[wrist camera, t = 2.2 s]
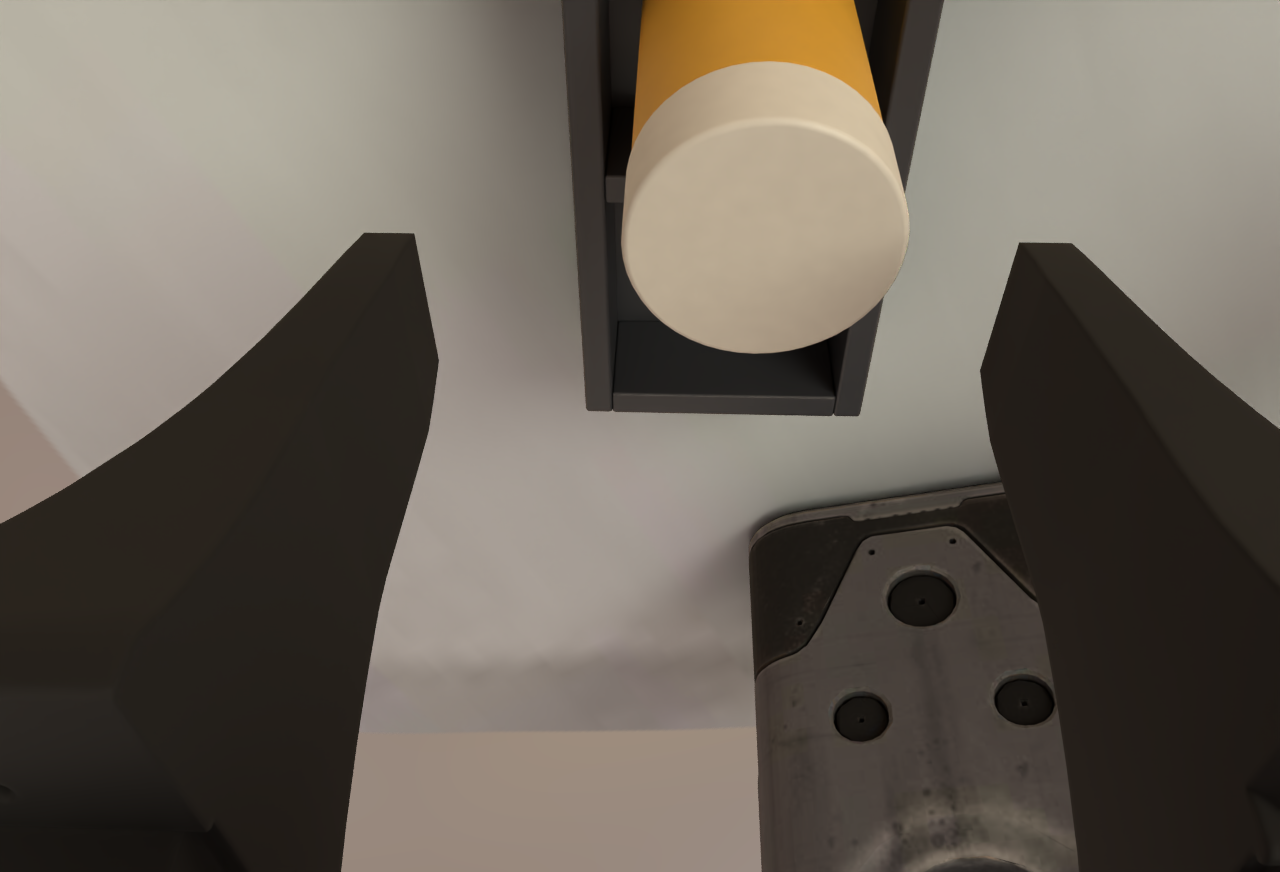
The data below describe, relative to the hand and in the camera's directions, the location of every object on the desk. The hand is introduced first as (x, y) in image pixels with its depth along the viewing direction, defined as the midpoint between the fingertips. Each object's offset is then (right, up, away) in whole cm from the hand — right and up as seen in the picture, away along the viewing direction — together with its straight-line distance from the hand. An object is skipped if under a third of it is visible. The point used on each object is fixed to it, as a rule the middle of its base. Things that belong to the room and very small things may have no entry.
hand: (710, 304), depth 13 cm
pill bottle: (+1, +7, +6) cm, 9 cm away
